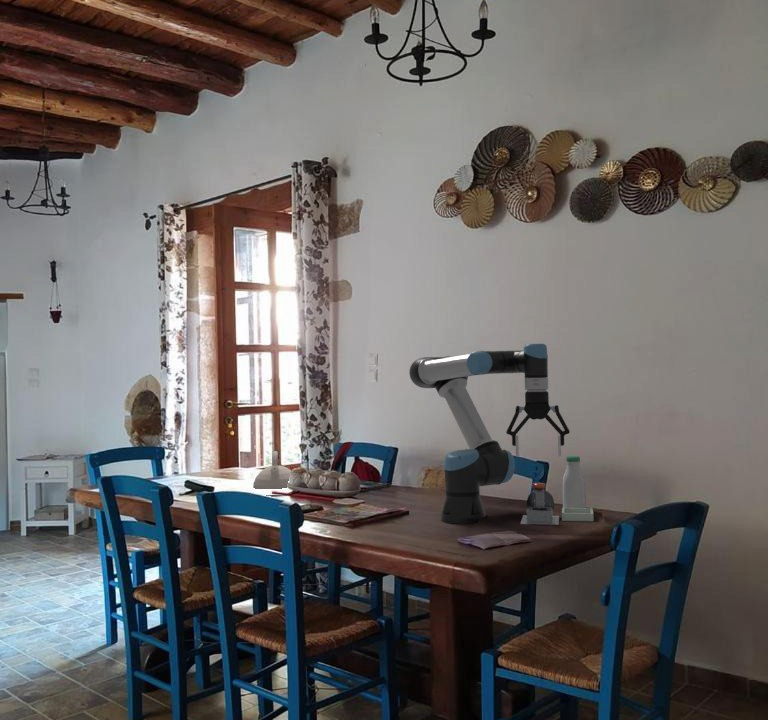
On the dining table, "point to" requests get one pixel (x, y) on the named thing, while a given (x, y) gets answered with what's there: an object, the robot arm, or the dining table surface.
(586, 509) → the tray
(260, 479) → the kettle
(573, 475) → the milk bottle
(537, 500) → the pin
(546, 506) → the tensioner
